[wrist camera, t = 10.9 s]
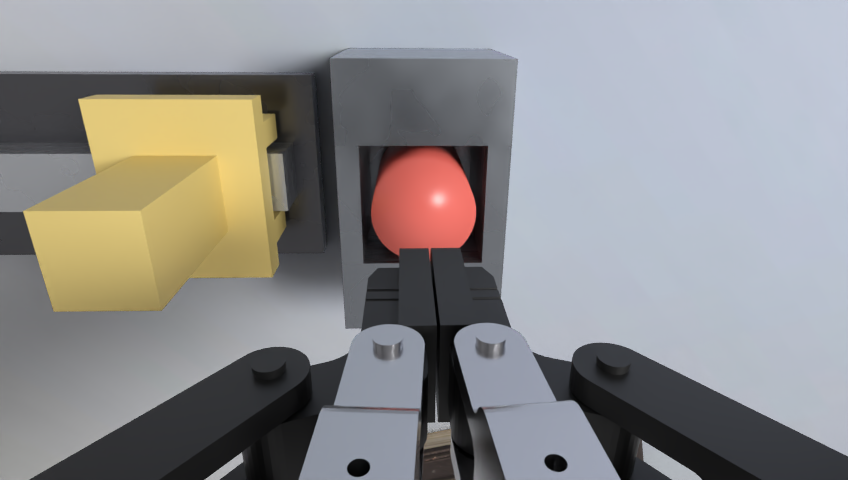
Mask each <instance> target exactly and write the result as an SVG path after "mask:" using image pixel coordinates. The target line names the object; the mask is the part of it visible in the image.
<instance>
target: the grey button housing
mask: <svg viewBox="0 0 848 480" xmlns="http://www.w3.org/2000/svg"><path fill="white" fill-rule="evenodd" d="M329 59H330V75H331V92H332V109H333V126H334V142H335V159H336V176H337V193H338V209H339V226H340V243H341V260H342V276H343V293H344V310H345V327H346V329H349V328H362V321H363V313H364V306H365V298H366V292H367V283H368V278H369V277H370V275H371V274H372V273H373V272H374V271H375V270H376V269H377V268H399V256H398V255H396V254H395V253H393V252H392V251H390V250H389V249H388V248H387V247H386V246H385V245H384V244H383V243H382V242H381V240H380V239H379V238H378V236H377V234H376V232H375V230H374V227H373V223H372V218H371V207H372V201H373V196H374V191H375V186H376V180H377V175H378V170H379V165H380V161H381V158H382V156H383V154H384V152H385V151H386V149H387V148H388V147H389V146H452V147H453V148H454V149H455V151H456V152H457V154H458V156H459V158H460V161H461V164H462V166H463V169H464V172H465V174H466V177H467V180H468V183H469V185H470V188H471V191H472V193H473V196H474V200H475V204H476V219H475V223H474V227H473V229H472V232H471V234H470V235H469V237H468V239H467V240H466V241H465V243H464V244H463V245H462V246H461V247H460V249H461V253H462V258H463V262H464V266H465V267H483V268H484V269H485V270H486V271H488V272H489V273H490V274H491V275H492V276H494V279H495V282H496V285H497V290H498V291H499V294H500V297H501V287H502V273H503V259H504V245H505V231H506V217H507V203H508V190H509V176H510V162H511V148H512V134H513V120H514V106H515V92H516V78H517V65H518V59H516V58H514V57H511V56H508V55H506V54H503V53H500V52H498V51H495V50H492V49H411V48H348V49H346V50H344V51H342V52H340V53H338V54H337V55H335V56H333V57H331V58H329Z"/></svg>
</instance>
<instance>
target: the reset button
mask: <svg viewBox="0 0 848 480" xmlns="http://www.w3.org/2000/svg"><path fill="white" fill-rule="evenodd" d="M371 218H372V223H373V227H374V230H375V232H376V234H377V236H378V238H379V239H380V240H381V242H382V243H383V244H384V245H385V246H386V247H387V248H388V249H389V250H390V251H392V252H393V253H395V254H396V255H398V256H399V248H428V249H429V257H430V250H431V248H460V247H461V246H462V245H463V244H464V243H465V241H466V240H467V239H468V237H469V235H470V234H471V232H472V229H473V227H474V223H475V219H476V204H475V200H474V196H473V193H472V191H471V188H470V185H469V183H468V180H467V177H466V174H465V172H464V169H463V166H462V164H461V161H460V158H459V156H458V154H457V152H456V151H455V149H454V148H453V147H452V146H389V147H388V148H387V149H386V151H385V152H384V154H383V156H382V158H381V161H380V165H379V170H378V175H377V180H376V186H375V191H374V196H373V201H372V207H371Z"/></svg>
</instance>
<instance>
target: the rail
mask: <svg viewBox="0 0 848 480" xmlns="http://www.w3.org/2000/svg"><path fill="white" fill-rule="evenodd" d="M93 95H260V96H261V105H262V114H275V119H276V129H277V139H276V140H275V141H273V142H272V143H271V144H270V145H269V146H268V147H267V148H266V150H267V159H268V168H269V177H270V186H271V195H272V204H273V211H285V217H286V228H285V230H284V231H283V233H282V235H281V236H280V238H279V240H278V242H277V249H278V253H324V251H325V249H326V246H327V237H326V223H325V209H324V195H323V181H322V166H321V152H320V138H319V124H318V110H317V96H316V82H315V73H247V72H9V71H0V255H25V254H36V252H35V249H34V246H33V242H32V239H31V236H30V233H29V229H28V226H27V223H26V220H25V216H24V213H23V211H24V210H26V209H28V208H30V207H32V206H34V205H36V204H38V203H40V202H42V201H44V200H46V199H48V198H50V197H52V196H54V195H56V194H58V193H60V192H62V191H64V190H66V189H68V188H70V187H72V186H74V185H76V184H78V183H80V182H82V181H84V180H86V179H88V178H90V177H92V176H94V175H96V171H95V167H94V163H93V158H92V154H91V150H90V146H89V142H88V138H87V134H86V130H85V125H84V121H83V117H82V113H81V109H80V105H79V101H78V99H81V98H85V97H89V96H93Z"/></svg>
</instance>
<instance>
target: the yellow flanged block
mask: <svg viewBox="0 0 848 480" xmlns="http://www.w3.org/2000/svg"><path fill="white" fill-rule="evenodd" d="M78 101H79V105H80V109H81V113H82V117H83V121H84V125H85V130H86V134H87V138H88V142H89V146H90V150H91V154H92V158H93V163H94V167H95V171H96V175H94V176H92V177H90V178H88V179H86V180H84V181H82V182H80V183H78V184H76V185H74V186H72V187H70V188H68V189H66V190H64V191H62V192H60V193H58V194H56V195H54V196H52V197H50V198H48V199H46V200H44V201H42V202H40V203H38V204H36V205H34V206H32V207H30V208H28V209H26V210H24V211H23V213H24V216H25V220H26V223H27V226H28V229H29V233H30V236H31V239H32V242H33V246H34V249H35V252H36V255H37V259H38V262H39V265H40V269H41V272H42V275H43V278H44V282H45V285H46V288H47V291H48V295H49V298H50V301H51V304H52V308H53V311H54V312H63V311H162V310H163V309H164V307H165V306H166V305H167V304H168V303H169V301H170V300H171V299H172V298H173V297H174V295H175V294H176V293H177V292H178V291H179V289H180V288H181V287H182V286H183V285H184V284H185V282H186V281H187V280H188V279H189V278H245V277H273V275H274V274H275V272H276V270H277V268H278V266H279V258H278V249H277V242H278V240H279V238H280V236H281V235H282V233H283V231H284V230H285V228H286V217H285V211H273V204H272V195H271V186H270V177H269V168H268V159H267V150H266V148H267V147H268V146H269V145H270V144H271V143H272V142H273V141H275V140H276V139H277V129H276V119H275V114H262V105H261V96H260V95H93V96H89V97H85V98H81V99H78Z"/></svg>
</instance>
